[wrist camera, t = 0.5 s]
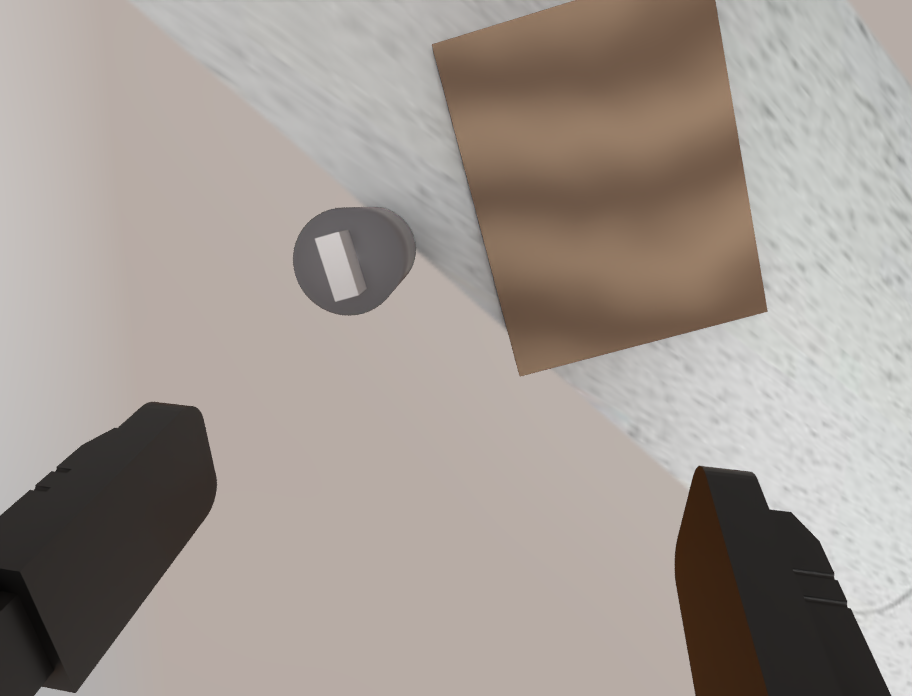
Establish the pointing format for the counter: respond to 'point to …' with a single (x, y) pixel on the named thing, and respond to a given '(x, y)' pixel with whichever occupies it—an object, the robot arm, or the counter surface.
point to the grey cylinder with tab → (353, 258)
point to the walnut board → (604, 175)
